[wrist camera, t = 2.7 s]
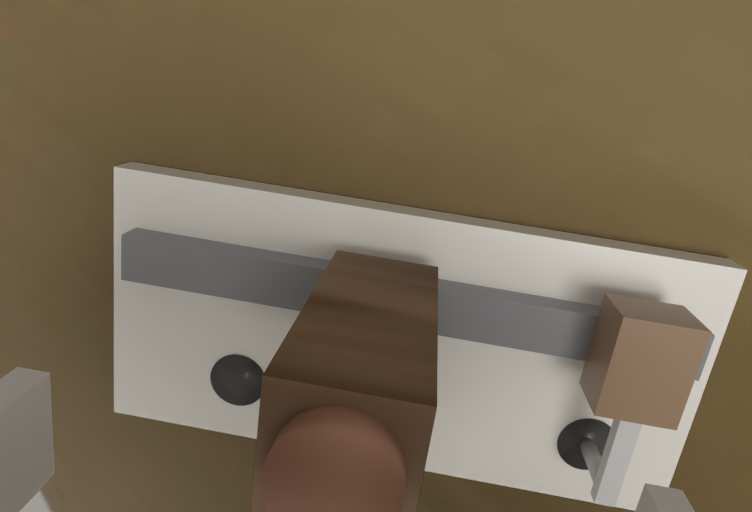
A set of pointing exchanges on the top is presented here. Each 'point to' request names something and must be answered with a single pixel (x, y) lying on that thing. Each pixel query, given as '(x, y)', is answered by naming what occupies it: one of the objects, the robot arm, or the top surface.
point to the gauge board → (455, 326)
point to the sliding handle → (351, 393)
